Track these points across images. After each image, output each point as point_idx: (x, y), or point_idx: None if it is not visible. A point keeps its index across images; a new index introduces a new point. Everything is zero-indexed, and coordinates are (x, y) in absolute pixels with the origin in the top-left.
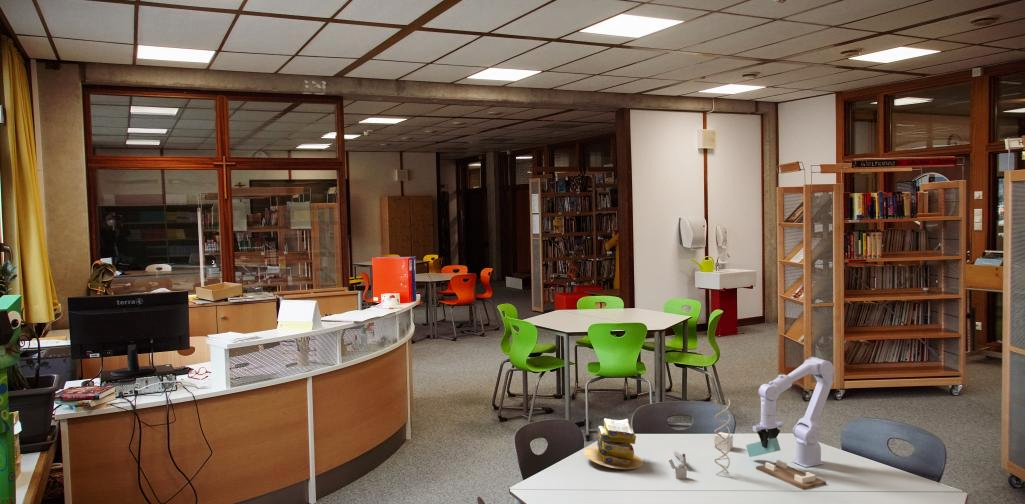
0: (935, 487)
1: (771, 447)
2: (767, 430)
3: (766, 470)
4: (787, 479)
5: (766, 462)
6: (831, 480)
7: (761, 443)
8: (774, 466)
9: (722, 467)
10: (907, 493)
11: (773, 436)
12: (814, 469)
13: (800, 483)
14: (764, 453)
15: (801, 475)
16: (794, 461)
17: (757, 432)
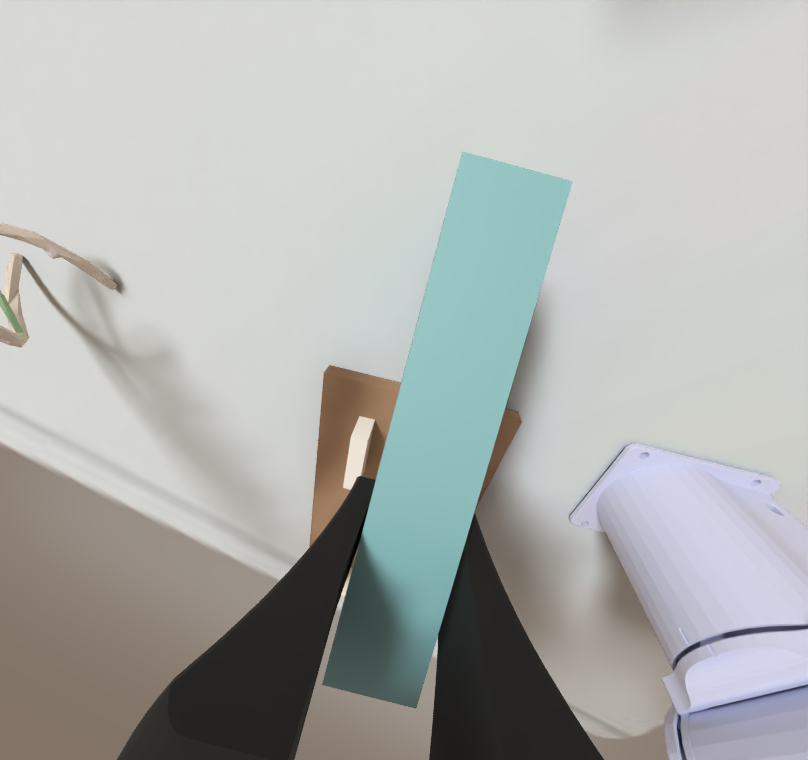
0: (632, 723)
1: (352, 568)
2: (495, 744)
3: (324, 439)
4: (315, 532)
5: (359, 439)
6: None
7: (345, 499)
8: (348, 486)
9: (55, 247)
10: None
11: (441, 683)
12: (570, 541)
13: None
14: (385, 442)
15: None
16: (623, 465)
17: (199, 664)
